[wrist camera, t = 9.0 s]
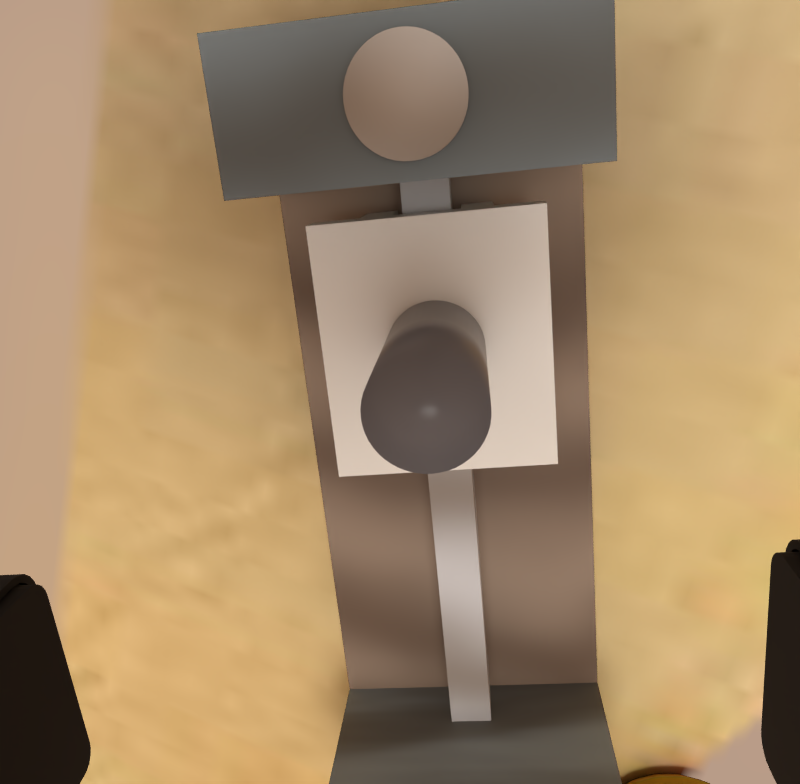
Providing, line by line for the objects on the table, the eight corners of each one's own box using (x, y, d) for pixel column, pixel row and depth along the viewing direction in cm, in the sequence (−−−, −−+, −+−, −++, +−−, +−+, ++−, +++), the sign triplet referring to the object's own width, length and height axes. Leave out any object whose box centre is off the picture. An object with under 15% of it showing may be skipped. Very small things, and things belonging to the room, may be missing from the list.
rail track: (272, 66, 26) (188, 29, 18) (571, 30, 25) (619, -26, 17) (365, 741, 34) (335, 915, 26) (594, 737, 33) (632, 916, 25)
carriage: (324, 217, 25) (249, 251, 17) (537, 196, 24) (575, 220, 16) (353, 441, 28) (300, 574, 19) (547, 428, 27) (586, 561, 18)
